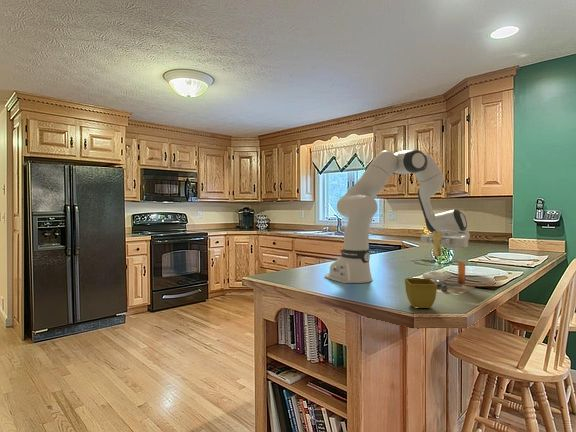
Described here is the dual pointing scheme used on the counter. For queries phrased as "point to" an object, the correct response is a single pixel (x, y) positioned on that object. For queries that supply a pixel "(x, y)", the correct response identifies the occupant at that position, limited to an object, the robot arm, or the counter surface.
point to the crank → (460, 277)
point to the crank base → (453, 289)
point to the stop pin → (437, 243)
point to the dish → (437, 275)
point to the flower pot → (420, 292)
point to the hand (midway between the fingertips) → (436, 241)
